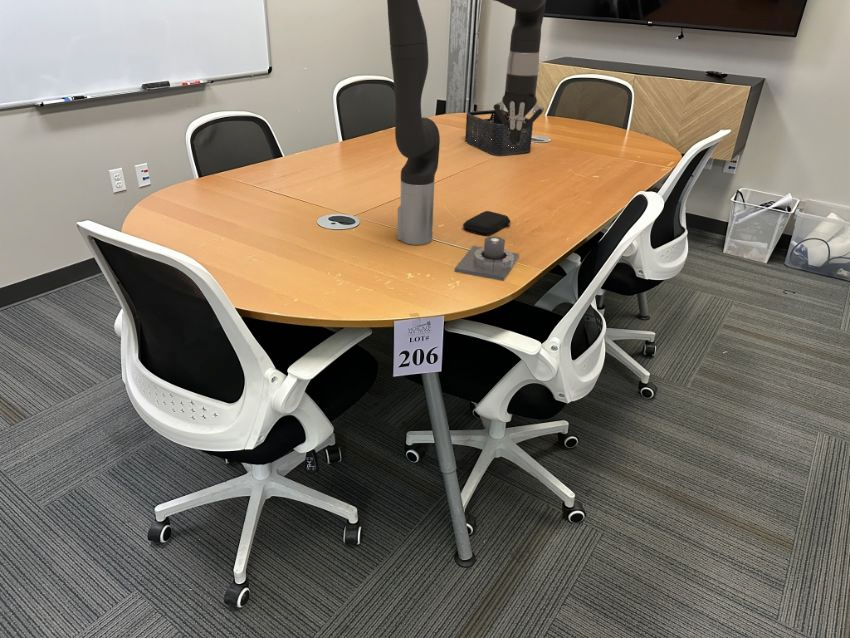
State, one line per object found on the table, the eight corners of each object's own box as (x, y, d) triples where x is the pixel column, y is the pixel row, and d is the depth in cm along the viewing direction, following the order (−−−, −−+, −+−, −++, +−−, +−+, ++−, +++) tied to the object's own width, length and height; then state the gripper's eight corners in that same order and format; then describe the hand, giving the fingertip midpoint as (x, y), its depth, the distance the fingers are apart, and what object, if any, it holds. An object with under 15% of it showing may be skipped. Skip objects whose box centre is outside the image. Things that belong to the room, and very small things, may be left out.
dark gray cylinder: (480, 263, 159) (482, 241, 156) (486, 256, 163) (487, 234, 160) (499, 267, 158) (502, 244, 155) (504, 259, 162) (507, 237, 159)
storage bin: (461, 141, 278) (463, 111, 271) (498, 138, 285) (500, 108, 279) (495, 157, 256) (497, 124, 249) (533, 153, 263) (537, 121, 256)
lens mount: (454, 271, 157) (455, 260, 155) (472, 249, 170) (473, 239, 168) (503, 280, 153) (504, 269, 152) (518, 257, 166) (519, 246, 165)
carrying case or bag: (490, 239, 177) (514, 225, 188) (491, 229, 176) (515, 216, 186) (459, 230, 183) (485, 217, 193) (460, 221, 181) (485, 208, 192)
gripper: (491, 71, 147) (486, 144, 155) (546, 76, 143) (537, 150, 151) (499, 67, 153) (493, 138, 161) (552, 72, 149) (543, 143, 158)
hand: (515, 144), depth 156 cm, fingers closed
